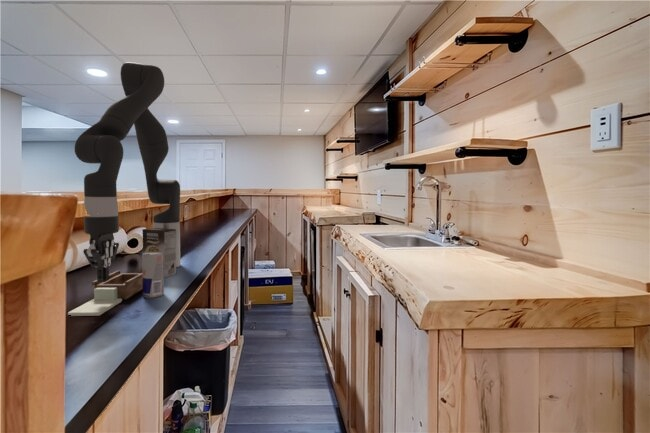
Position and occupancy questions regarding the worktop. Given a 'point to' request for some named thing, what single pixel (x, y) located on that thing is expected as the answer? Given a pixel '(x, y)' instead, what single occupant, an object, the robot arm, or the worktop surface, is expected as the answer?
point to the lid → (98, 303)
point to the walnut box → (122, 283)
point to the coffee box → (162, 246)
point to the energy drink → (152, 274)
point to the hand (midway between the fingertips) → (103, 281)
